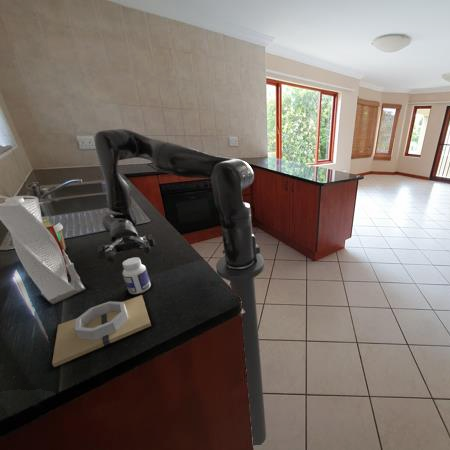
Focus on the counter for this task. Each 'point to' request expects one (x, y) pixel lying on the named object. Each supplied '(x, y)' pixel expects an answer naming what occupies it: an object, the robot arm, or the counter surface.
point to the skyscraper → (39, 249)
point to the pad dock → (99, 328)
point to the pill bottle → (135, 276)
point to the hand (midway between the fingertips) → (129, 254)
